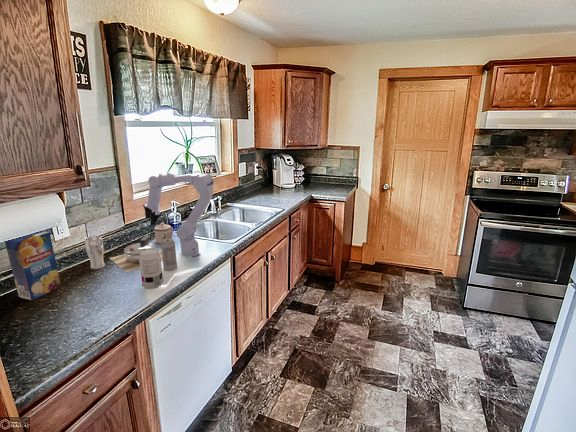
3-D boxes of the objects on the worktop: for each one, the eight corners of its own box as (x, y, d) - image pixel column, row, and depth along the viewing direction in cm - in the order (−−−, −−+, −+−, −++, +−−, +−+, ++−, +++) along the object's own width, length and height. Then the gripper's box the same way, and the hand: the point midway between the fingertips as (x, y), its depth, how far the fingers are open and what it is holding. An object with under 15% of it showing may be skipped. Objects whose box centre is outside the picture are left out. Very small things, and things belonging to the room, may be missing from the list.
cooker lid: (148, 255, 156) (147, 248, 155) (119, 255, 156) (118, 248, 155) (162, 241, 174) (161, 234, 173) (136, 240, 174) (135, 234, 173)
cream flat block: (159, 261, 161) (158, 252, 159) (130, 267, 153) (129, 258, 152) (149, 248, 176) (148, 240, 174) (122, 254, 168) (121, 246, 167)
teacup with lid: (164, 246, 182) (162, 226, 179) (152, 243, 186) (149, 223, 183) (179, 239, 193) (177, 220, 189) (167, 237, 196) (165, 218, 193)
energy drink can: (176, 266, 157) (173, 236, 153) (178, 271, 152) (175, 241, 148) (163, 268, 155) (160, 238, 151) (164, 273, 150) (160, 243, 146)
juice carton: (31, 300, 127) (18, 242, 121) (18, 297, 130) (4, 239, 123) (61, 286, 138) (50, 232, 131) (48, 283, 140) (36, 230, 134)
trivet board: (172, 260, 164) (172, 258, 164) (126, 274, 149) (126, 272, 149) (152, 248, 179) (152, 246, 179) (109, 260, 164) (109, 258, 164)
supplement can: (138, 287, 138) (133, 254, 133) (152, 278, 145) (148, 247, 141) (153, 291, 135) (149, 257, 131) (167, 282, 142) (164, 249, 138)
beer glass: (86, 269, 153) (80, 239, 149) (99, 264, 159) (94, 234, 155) (96, 272, 151) (91, 241, 147) (109, 266, 157) (105, 236, 153)
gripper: (141, 191, 170) (137, 215, 175) (151, 203, 161) (147, 228, 165) (155, 192, 175) (151, 215, 179) (165, 203, 165) (161, 227, 170)
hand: (150, 221), depth 173 cm, fingers open, 7 cm apart
